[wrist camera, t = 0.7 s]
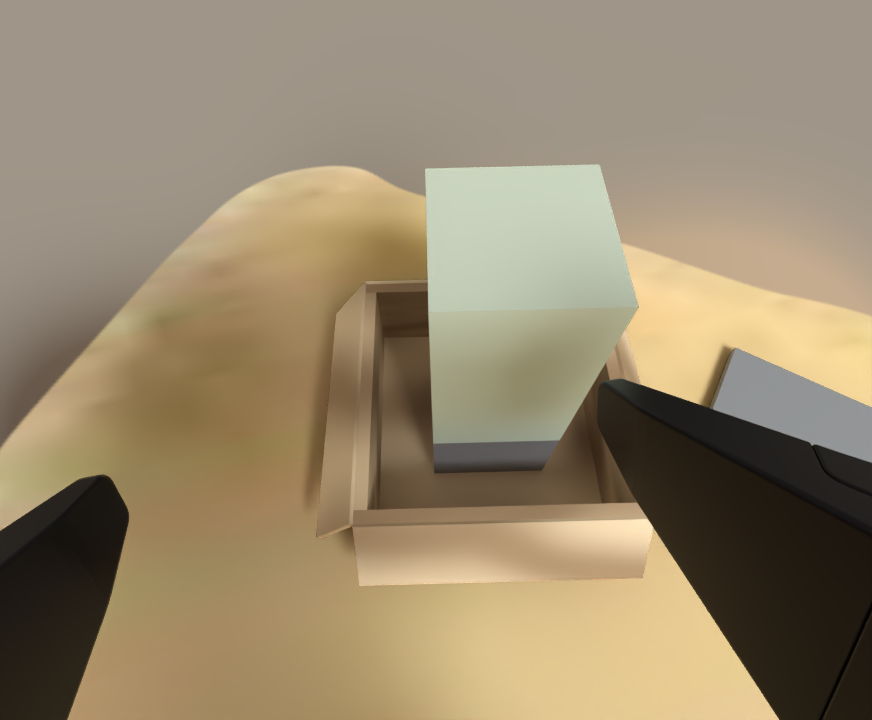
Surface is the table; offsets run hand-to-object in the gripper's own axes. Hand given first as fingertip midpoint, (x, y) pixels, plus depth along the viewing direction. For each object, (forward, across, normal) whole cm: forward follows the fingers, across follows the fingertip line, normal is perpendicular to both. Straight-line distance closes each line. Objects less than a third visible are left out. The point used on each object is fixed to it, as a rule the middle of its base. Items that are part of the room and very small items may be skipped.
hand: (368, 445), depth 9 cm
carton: (+12, -5, +9) cm, 16 cm away
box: (+12, -5, +9) cm, 16 cm away
